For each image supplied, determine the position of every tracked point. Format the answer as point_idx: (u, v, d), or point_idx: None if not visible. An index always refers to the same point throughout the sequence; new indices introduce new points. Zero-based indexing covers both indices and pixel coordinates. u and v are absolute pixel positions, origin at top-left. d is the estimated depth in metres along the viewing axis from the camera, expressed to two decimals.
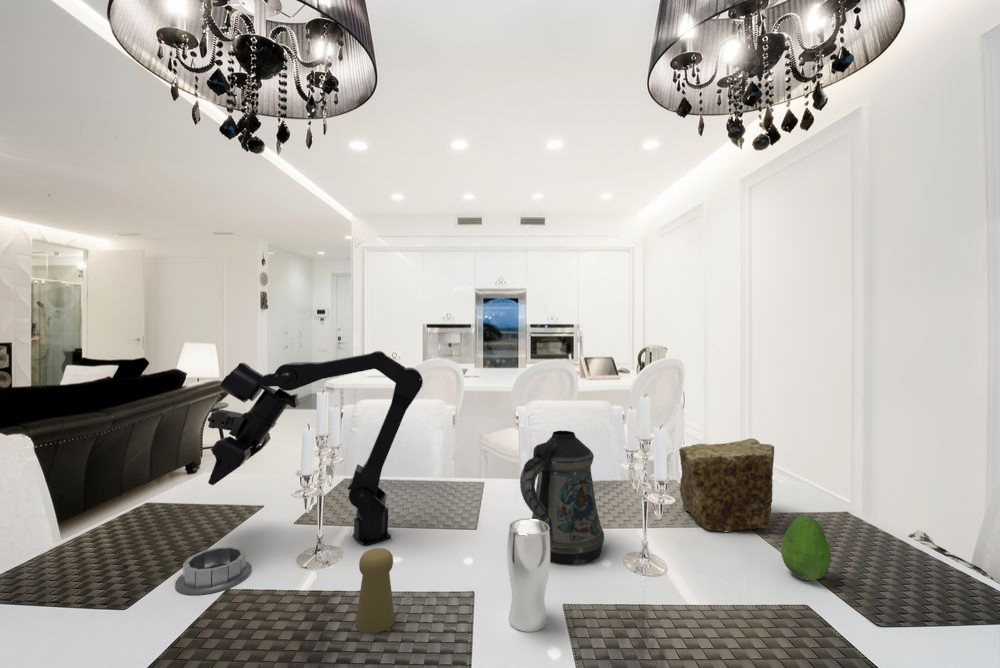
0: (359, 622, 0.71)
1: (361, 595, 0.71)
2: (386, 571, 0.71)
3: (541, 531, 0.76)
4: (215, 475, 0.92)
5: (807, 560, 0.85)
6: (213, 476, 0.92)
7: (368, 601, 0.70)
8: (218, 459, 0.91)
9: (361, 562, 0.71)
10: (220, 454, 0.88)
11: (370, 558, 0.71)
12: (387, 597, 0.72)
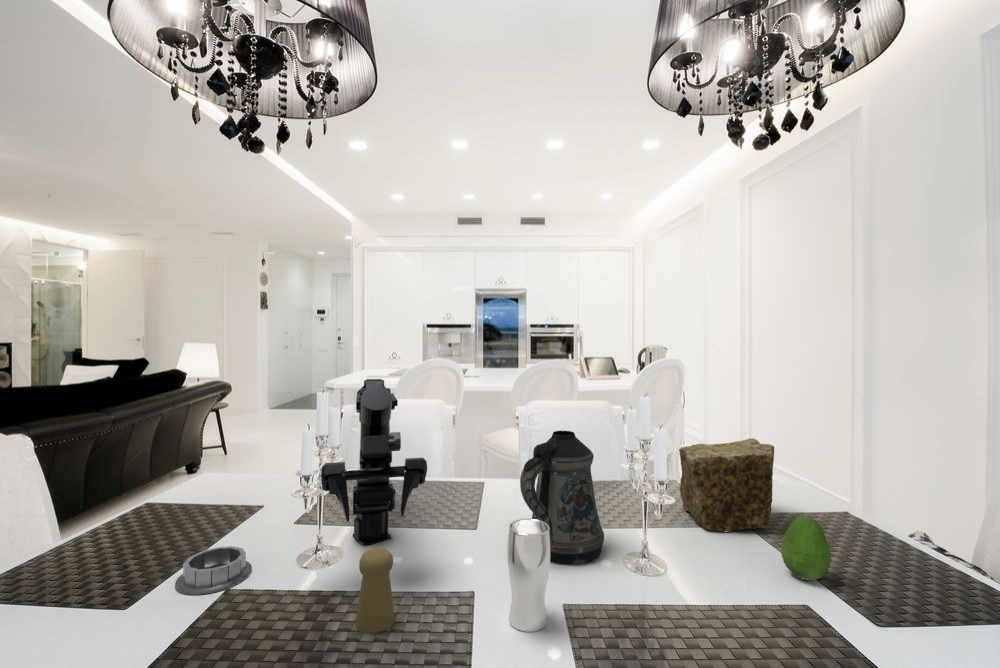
0: (359, 622, 0.71)
1: (361, 595, 0.71)
2: (386, 571, 0.71)
3: (541, 531, 0.76)
4: (406, 503, 0.83)
5: (807, 560, 0.85)
6: (406, 504, 0.83)
7: (368, 601, 0.70)
8: None
9: (361, 562, 0.71)
10: None
11: (370, 558, 0.71)
12: (387, 597, 0.72)
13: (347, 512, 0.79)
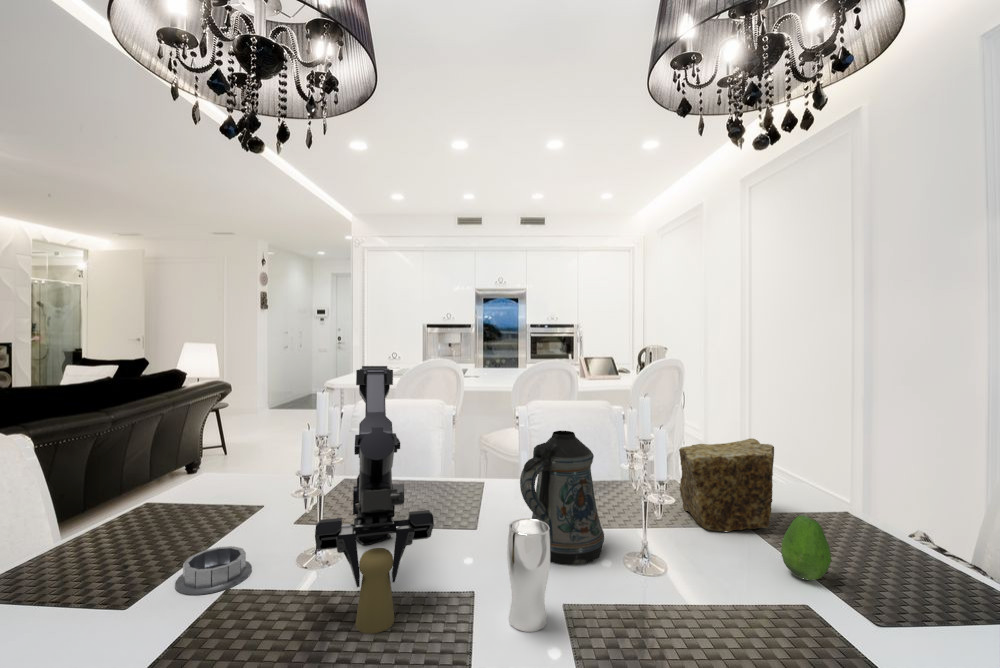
0: (359, 622, 0.71)
1: (361, 595, 0.71)
2: (386, 571, 0.71)
3: (541, 531, 0.76)
4: (398, 565, 0.74)
5: (807, 560, 0.85)
6: (398, 567, 0.73)
7: (368, 601, 0.70)
8: None
9: (361, 562, 0.71)
10: None
11: (370, 557, 0.71)
12: (387, 597, 0.72)
13: (357, 577, 0.71)
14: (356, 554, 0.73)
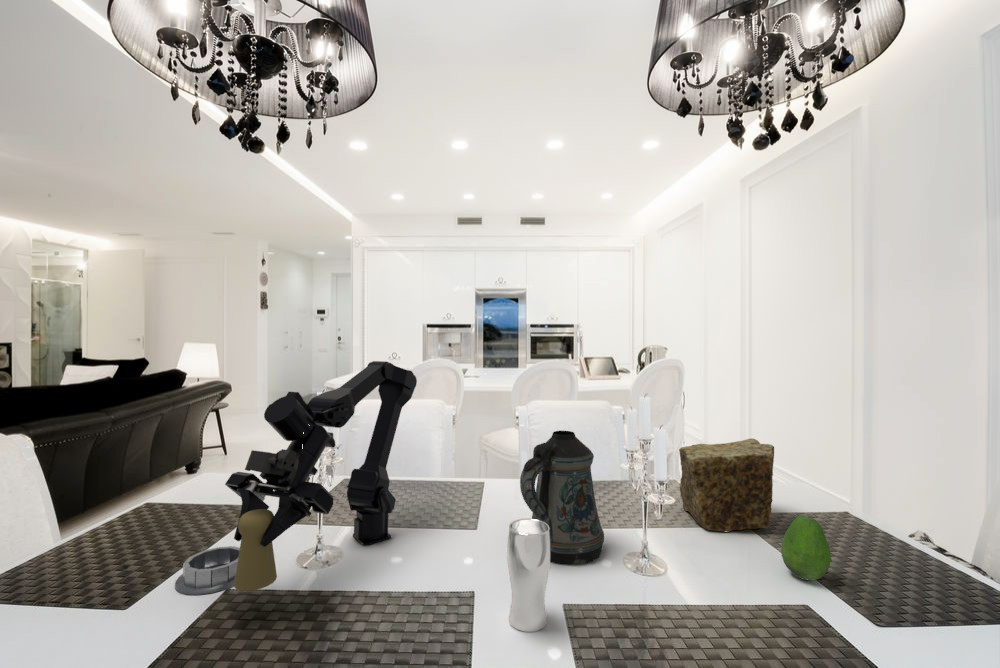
0: None
1: None
2: (253, 532, 0.71)
3: (541, 531, 0.76)
4: (274, 531, 0.73)
5: (807, 560, 0.85)
6: (271, 533, 0.72)
7: (239, 557, 0.72)
8: (287, 509, 0.74)
9: None
10: (319, 501, 0.74)
11: (244, 515, 0.72)
12: (256, 560, 0.71)
13: (237, 531, 0.73)
14: (246, 510, 0.75)
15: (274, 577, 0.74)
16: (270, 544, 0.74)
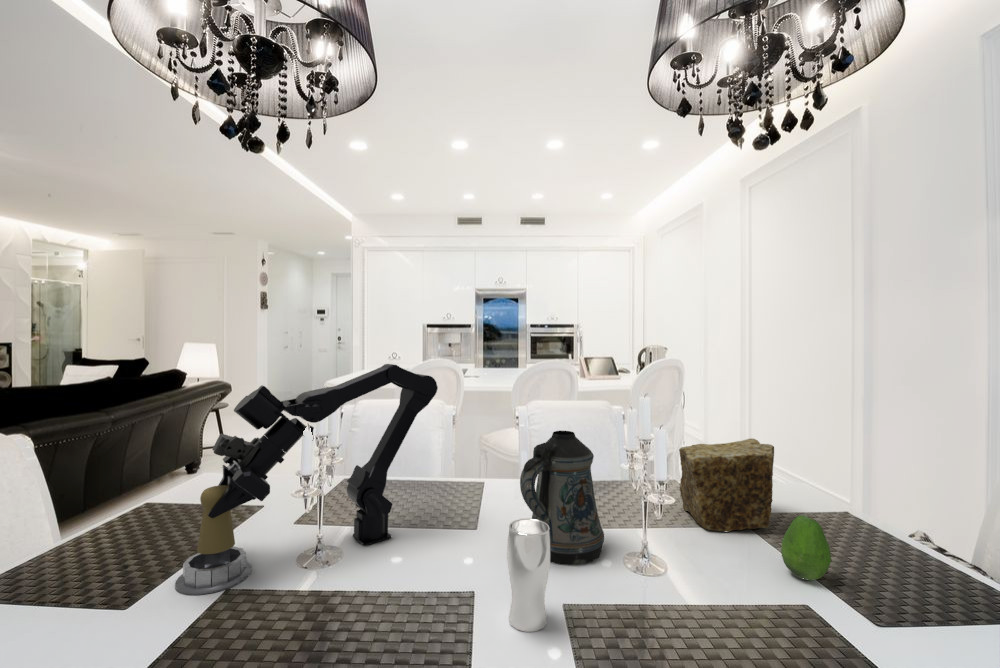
0: None
1: None
2: (205, 504, 0.83)
3: (541, 531, 0.76)
4: (220, 507, 0.83)
5: (807, 560, 0.85)
6: (217, 507, 0.82)
7: None
8: (231, 489, 0.83)
9: None
10: (245, 487, 0.80)
11: (207, 488, 0.85)
12: (206, 528, 0.83)
13: None
14: (220, 484, 0.88)
15: (224, 547, 0.84)
16: (222, 517, 0.84)
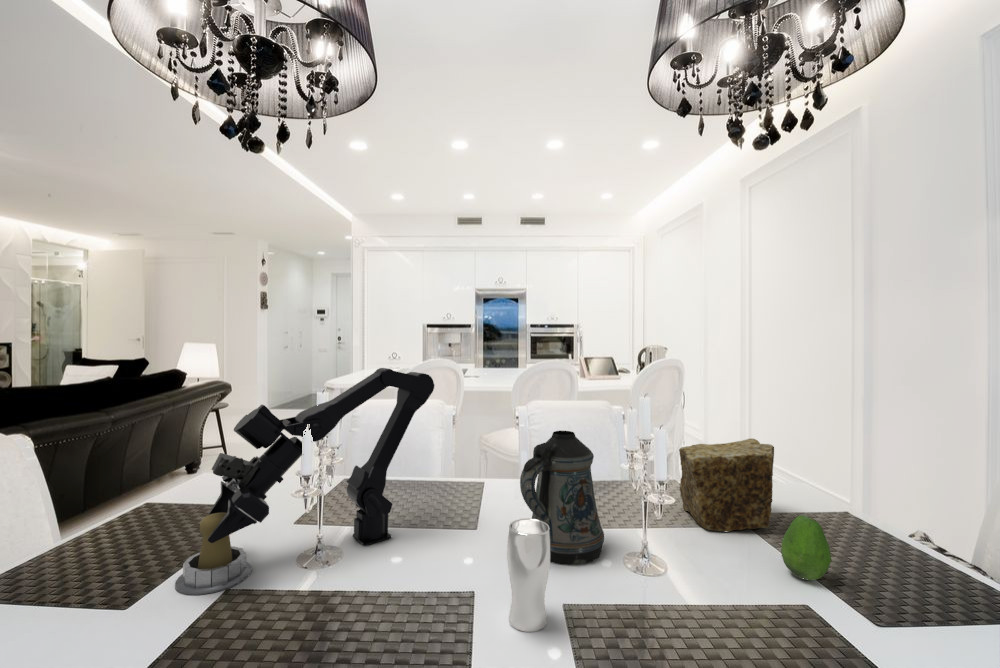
0: None
1: None
2: (204, 532, 0.83)
3: (541, 531, 0.76)
4: (220, 531, 0.81)
5: (807, 560, 0.85)
6: (217, 532, 0.81)
7: None
8: (231, 513, 0.81)
9: None
10: (244, 509, 0.80)
11: (206, 516, 0.85)
12: (205, 556, 0.83)
13: None
14: (218, 500, 0.90)
15: None
16: (222, 546, 0.84)
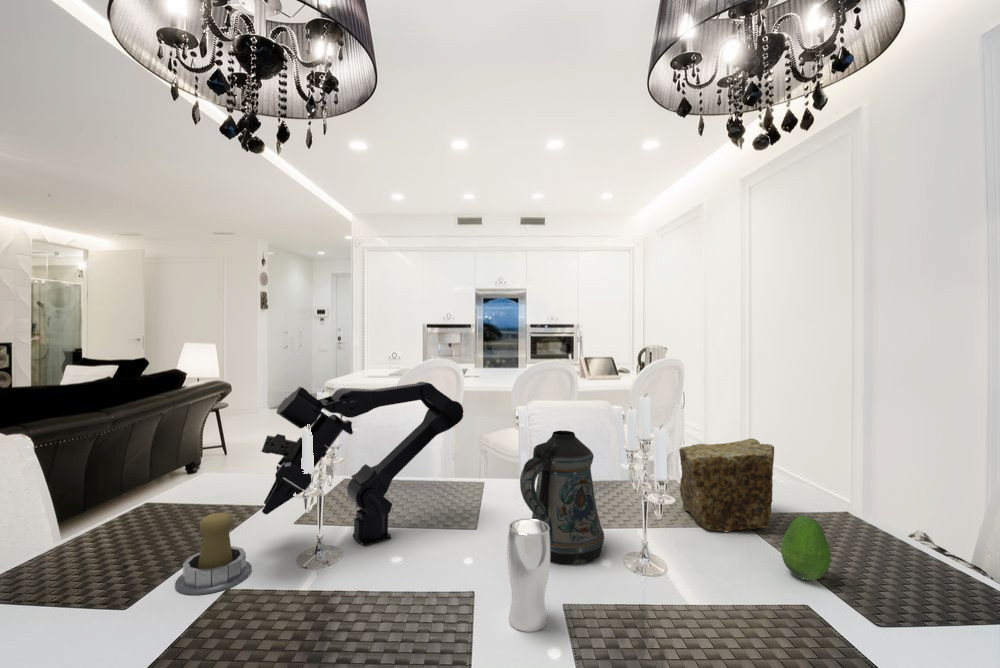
0: None
1: None
2: (204, 532, 0.83)
3: (541, 531, 0.76)
4: (271, 503, 0.86)
5: (807, 560, 0.85)
6: (269, 503, 0.86)
7: None
8: (278, 484, 0.86)
9: None
10: (287, 477, 0.85)
11: (206, 516, 0.85)
12: (205, 557, 0.83)
13: (266, 497, 0.95)
14: (274, 482, 0.96)
15: None
16: (222, 546, 0.84)
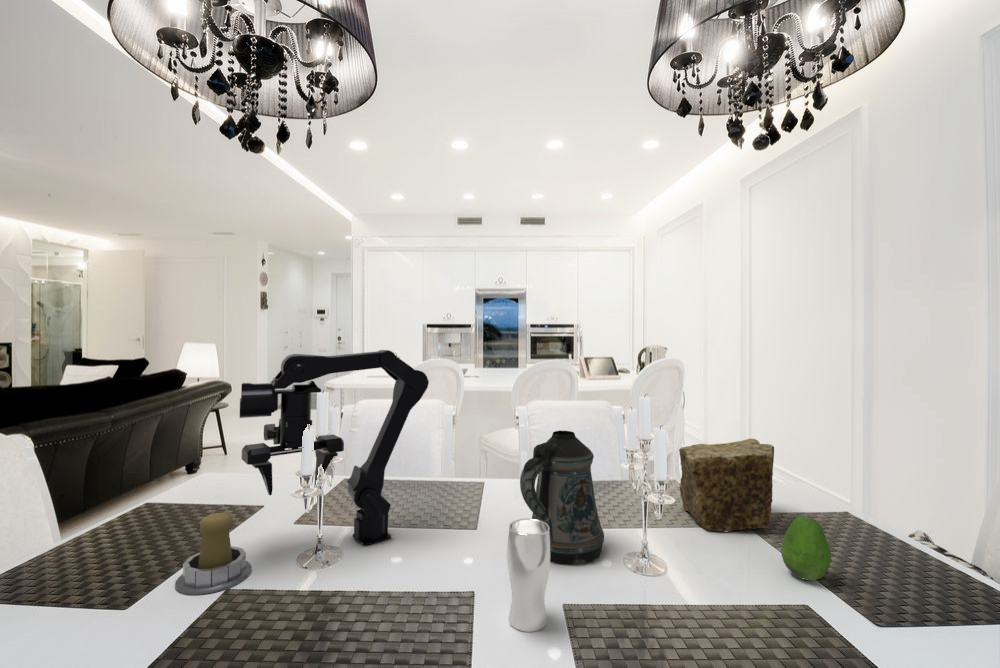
0: None
1: None
2: (204, 532, 0.83)
3: (541, 531, 0.76)
4: (265, 484, 0.92)
5: (807, 560, 0.85)
6: (265, 485, 0.92)
7: None
8: None
9: None
10: (243, 459, 0.90)
11: (206, 516, 0.85)
12: (205, 557, 0.83)
13: (316, 479, 0.99)
14: None
15: None
16: (222, 546, 0.84)
